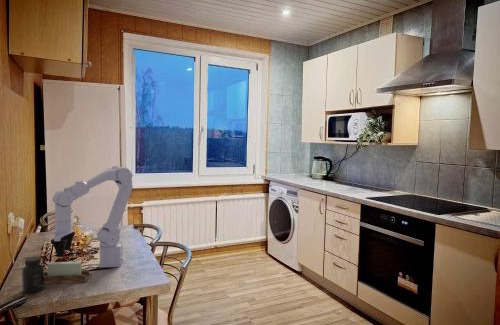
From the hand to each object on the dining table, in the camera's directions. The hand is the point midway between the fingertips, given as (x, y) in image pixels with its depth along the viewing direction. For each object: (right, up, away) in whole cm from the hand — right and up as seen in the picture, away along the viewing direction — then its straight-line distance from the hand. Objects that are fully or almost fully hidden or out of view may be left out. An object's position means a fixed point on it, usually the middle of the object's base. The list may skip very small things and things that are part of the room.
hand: (63, 253), depth 140 cm
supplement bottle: (-4, -11, -13) cm, 17 cm away
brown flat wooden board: (+2, -10, -3) cm, 10 cm away
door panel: (+2, -9, -3) cm, 10 cm away
